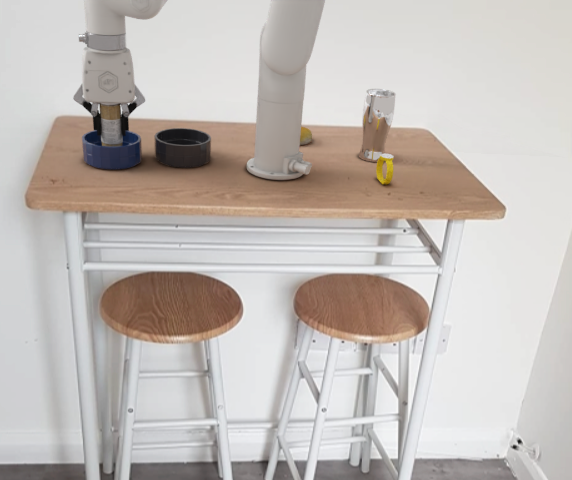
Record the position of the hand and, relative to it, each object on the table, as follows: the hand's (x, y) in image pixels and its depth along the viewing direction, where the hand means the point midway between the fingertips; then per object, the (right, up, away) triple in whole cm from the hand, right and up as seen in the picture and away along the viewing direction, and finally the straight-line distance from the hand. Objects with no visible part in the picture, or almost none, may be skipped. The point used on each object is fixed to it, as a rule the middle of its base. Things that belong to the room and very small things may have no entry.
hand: (111, 132), depth 148 cm
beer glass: (+57, -1, +18) cm, 59 cm away
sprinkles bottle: (0, -4, +3) cm, 5 cm away
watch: (+57, -10, +5) cm, 58 cm away
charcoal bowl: (+14, -4, +7) cm, 16 cm away
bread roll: (+38, +5, +25) cm, 46 cm away
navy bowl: (0, -5, +3) cm, 6 cm away
